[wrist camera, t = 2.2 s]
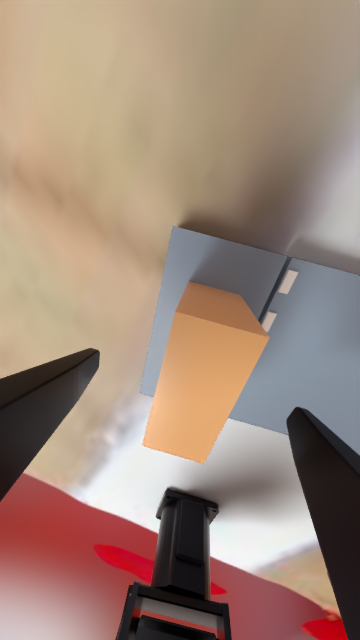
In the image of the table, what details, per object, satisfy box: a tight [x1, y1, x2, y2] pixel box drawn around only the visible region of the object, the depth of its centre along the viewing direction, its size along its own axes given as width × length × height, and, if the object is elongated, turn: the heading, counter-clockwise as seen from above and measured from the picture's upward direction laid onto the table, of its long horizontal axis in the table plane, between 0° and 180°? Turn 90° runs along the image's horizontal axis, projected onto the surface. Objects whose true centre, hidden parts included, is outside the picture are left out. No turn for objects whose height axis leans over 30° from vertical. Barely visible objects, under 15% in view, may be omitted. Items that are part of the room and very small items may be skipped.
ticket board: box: [228, 257, 360, 455], centre depth 12 cm, size 12×14×1 cm
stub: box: [140, 226, 288, 464], centre depth 10 cm, size 12×6×6 cm, turn 166°
